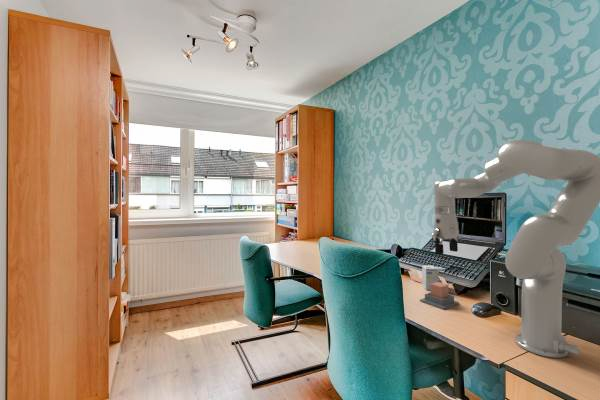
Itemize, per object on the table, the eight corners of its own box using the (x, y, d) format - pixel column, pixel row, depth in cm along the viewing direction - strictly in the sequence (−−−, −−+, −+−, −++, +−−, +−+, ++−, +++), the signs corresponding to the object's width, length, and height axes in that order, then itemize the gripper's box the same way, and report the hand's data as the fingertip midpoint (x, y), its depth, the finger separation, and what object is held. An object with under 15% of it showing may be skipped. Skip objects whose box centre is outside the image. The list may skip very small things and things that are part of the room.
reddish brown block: (448, 301, 126) (448, 284, 126) (441, 303, 123) (441, 287, 123) (437, 297, 130) (437, 281, 130) (430, 300, 127) (430, 284, 127)
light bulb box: (443, 286, 148) (443, 264, 147) (449, 290, 141) (449, 268, 140) (421, 286, 149) (421, 264, 148) (425, 290, 142) (425, 268, 142)
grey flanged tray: (459, 303, 125) (459, 296, 125) (443, 309, 119) (443, 301, 119) (435, 296, 134) (435, 289, 134) (419, 301, 128) (419, 293, 128)
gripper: (440, 211, 113) (442, 256, 113) (466, 209, 122) (467, 251, 122) (423, 211, 120) (425, 253, 120) (448, 209, 129) (450, 249, 129)
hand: (446, 252), depth 121 cm, fingers open, 9 cm apart
